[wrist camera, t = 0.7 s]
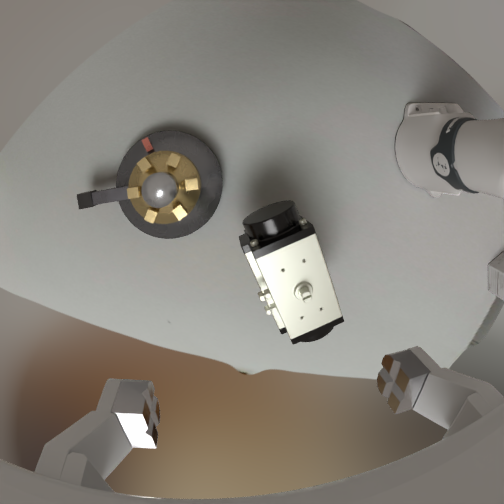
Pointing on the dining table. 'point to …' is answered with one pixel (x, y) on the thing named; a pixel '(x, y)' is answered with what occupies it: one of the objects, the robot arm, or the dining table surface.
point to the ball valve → (291, 272)
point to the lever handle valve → (144, 168)
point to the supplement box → (496, 276)
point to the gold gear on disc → (172, 183)
